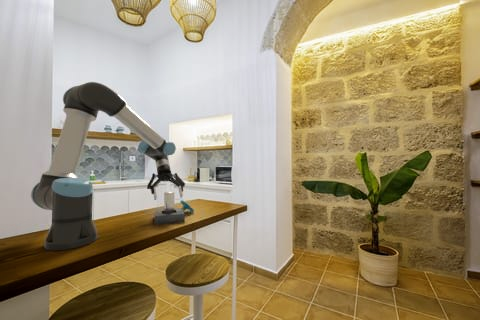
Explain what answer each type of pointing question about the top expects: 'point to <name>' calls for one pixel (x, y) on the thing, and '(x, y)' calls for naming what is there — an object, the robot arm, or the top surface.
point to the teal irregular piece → (186, 206)
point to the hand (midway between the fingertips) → (169, 197)
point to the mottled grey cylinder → (168, 202)
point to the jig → (169, 216)
